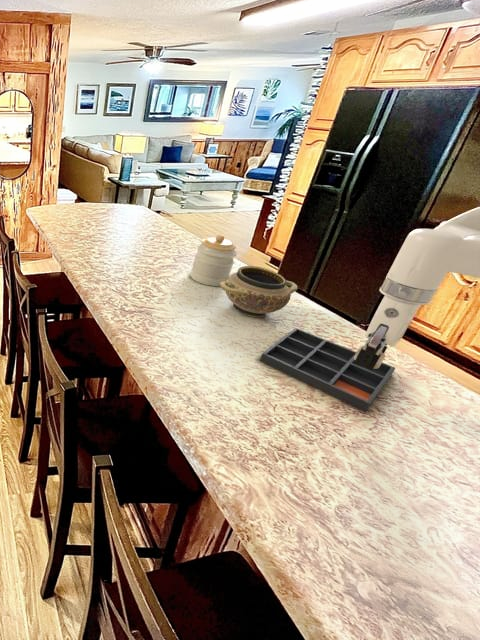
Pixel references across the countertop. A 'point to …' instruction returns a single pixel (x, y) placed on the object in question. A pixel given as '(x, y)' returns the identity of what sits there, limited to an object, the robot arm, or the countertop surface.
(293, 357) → the grid
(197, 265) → the jar
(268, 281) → the ceramic bowl
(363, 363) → the robot arm
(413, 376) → the countertop surface
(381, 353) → the cylinder
